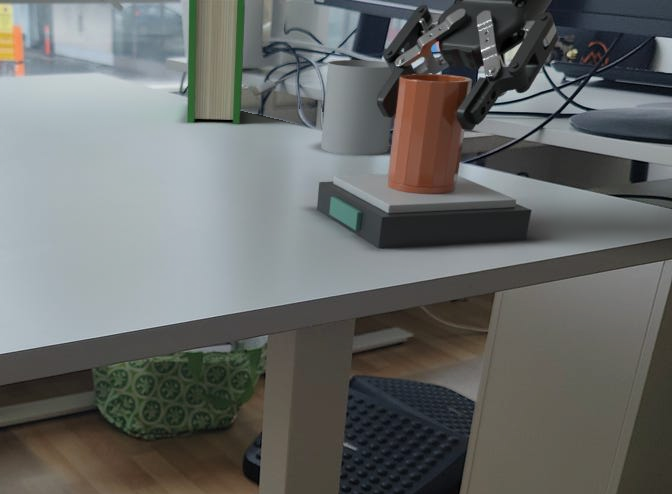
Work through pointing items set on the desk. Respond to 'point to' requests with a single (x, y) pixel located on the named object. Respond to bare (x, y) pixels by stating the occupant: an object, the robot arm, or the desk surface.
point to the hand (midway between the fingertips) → (421, 117)
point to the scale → (421, 213)
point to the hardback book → (215, 59)
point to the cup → (355, 108)
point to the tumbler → (427, 133)
